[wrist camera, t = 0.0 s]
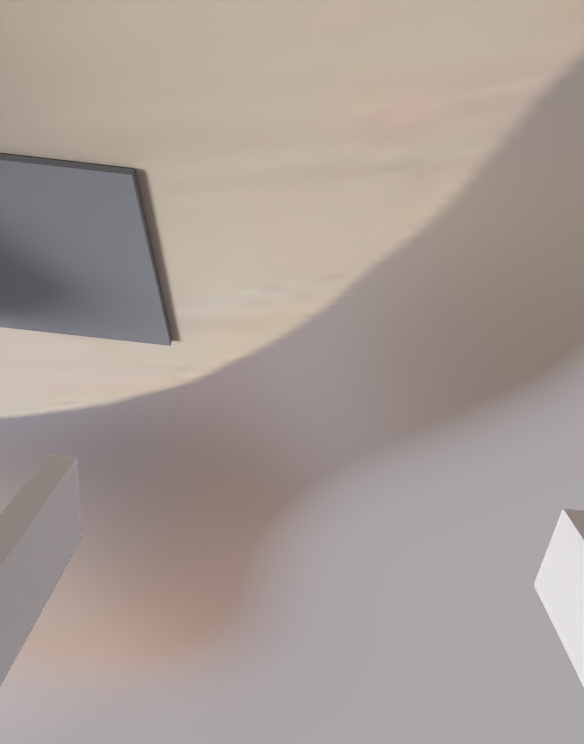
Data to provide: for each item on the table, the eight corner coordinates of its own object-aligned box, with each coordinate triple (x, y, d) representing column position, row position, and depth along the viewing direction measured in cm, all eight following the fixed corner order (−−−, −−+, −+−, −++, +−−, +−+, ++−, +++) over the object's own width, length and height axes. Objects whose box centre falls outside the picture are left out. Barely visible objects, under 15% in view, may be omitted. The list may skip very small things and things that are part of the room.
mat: (-209, 129, 24) (-214, 135, 24) (133, 168, 24) (131, 175, 24) (-56, 315, 36) (-58, 320, 36) (171, 340, 36) (170, 345, 36)
